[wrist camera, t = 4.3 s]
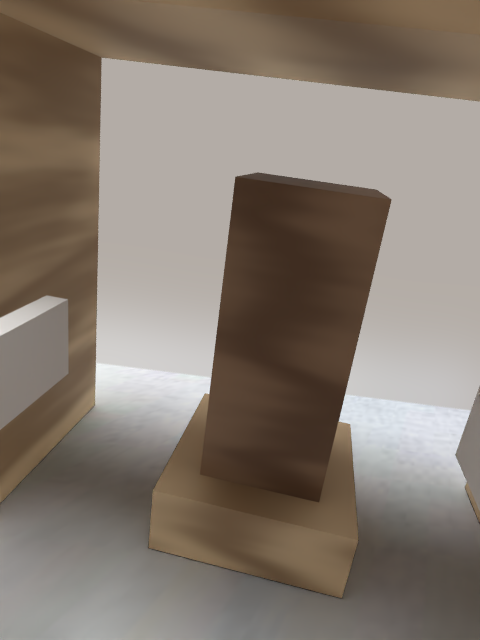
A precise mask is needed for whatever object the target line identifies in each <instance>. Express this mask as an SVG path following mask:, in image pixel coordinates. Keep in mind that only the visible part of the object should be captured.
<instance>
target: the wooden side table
mask: <svg viewBox="0 0 480 640" xmlns="http://www.w3.org/2000/svg"><path fill="white" fill-rule="evenodd" d="M101 57H102V58H111V59H119V60H127V61H136V62H145V63H154V64H162V65H170V66H180V67H188V68H197V69H205V70H213V71H223V72H231V73H239V74H248V75H256V76H265V77H274V78H282V79H292V80H299V81H308V82H317V83H326V84H334V85H342V86H352V87H361V88H368V89H377V90H386V91H394V92H402V93H411V94H421V95H428V96H437V97H446V98H455V99H463V100H472V101H480V0H0V318H1V317H3V316H5V315H7V314H9V313H11V312H13V311H15V310H17V309H19V308H22V307H24V306H26V305H28V304H30V303H32V302H34V301H36V300H38V299H40V298H42V297H44V296H46V295H48V296H53V297H58V298H64V299H68V372H69V373H68V374H67V375H66V376H65V377H64V378H62V379H61V380H60V381H59V382H58V383H56V384H55V385H54V386H53V387H52V388H50V389H49V390H48V391H47V392H46V393H44V394H43V395H42V396H41V397H39V398H38V399H37V400H36V401H35V402H33V403H32V404H31V405H30V406H29V407H27V408H26V409H25V410H24V411H23V412H21V413H20V414H19V415H18V416H17V417H15V418H14V419H13V420H12V421H10V422H9V423H8V424H7V425H6V426H4V427H3V428H2V429H1V430H0V503H1V502H2V501H3V500H4V499H5V498H6V497H7V496H8V495H9V494H10V493H11V492H12V491H13V490H14V488H15V487H16V486H17V485H18V484H19V483H20V482H21V481H22V480H23V479H24V478H25V477H26V476H27V475H28V474H29V473H30V472H31V471H32V470H33V469H34V468H35V467H36V466H37V465H38V464H39V463H40V461H41V460H42V459H43V458H44V457H45V456H46V455H47V454H48V453H49V452H50V451H51V450H52V449H53V448H54V447H55V446H56V445H57V444H58V443H59V442H60V441H61V440H62V439H63V438H64V437H65V435H66V434H67V433H68V432H69V431H70V430H71V429H72V428H73V427H74V426H75V425H76V424H77V423H78V422H79V421H80V420H81V419H82V418H83V417H84V416H85V415H86V414H87V413H88V412H89V411H90V410H91V408H92V407H93V406H94V405H95V371H96V317H97V266H98V264H97V263H98V211H99V210H98V209H99V161H100V157H99V156H100V108H101V105H100V103H101ZM208 402H209V394H204V396H203V398H202V400H201V402H200V404H199V406H198V407H197V409H196V411H195V413H194V415H193V417H192V419H191V420H190V422H189V424H188V426H187V428H186V430H185V431H184V433H183V435H182V437H181V439H180V441H179V443H178V444H177V446H176V448H175V450H174V452H173V454H172V456H171V457H170V459H169V461H168V463H167V465H166V467H165V469H164V470H163V472H162V474H161V476H160V478H159V480H158V482H157V483H156V485H155V487H154V489H153V494H152V507H151V521H150V534H149V547H148V548H151V549H155V550H158V551H162V552H166V553H170V554H174V555H178V556H181V557H185V558H189V559H193V560H197V561H201V562H204V563H208V564H212V565H216V566H220V567H223V568H227V569H231V570H235V571H239V572H243V573H246V574H250V575H254V576H258V577H262V578H266V579H269V580H273V581H277V582H281V583H285V584H289V585H292V586H296V587H300V588H304V589H308V590H311V591H315V592H319V593H323V594H327V595H331V596H334V597H338V598H342V596H343V593H344V589H345V586H346V582H347V579H348V575H349V572H350V568H351V565H352V561H353V558H354V554H355V551H356V548H357V544H358V541H359V540H358V526H357V512H356V498H355V484H354V470H353V456H352V442H351V428H350V424H347V423H342V422H338V425H337V430H336V434H335V438H334V442H333V446H332V451H331V455H330V459H329V463H328V467H327V471H326V476H325V480H324V484H323V488H322V492H321V497H320V501H319V502H314V501H310V500H306V499H302V498H297V497H293V496H289V495H285V494H280V493H276V492H272V491H268V490H263V489H259V488H255V487H251V486H246V485H242V484H238V483H234V482H229V481H225V480H221V479H217V478H213V477H208V476H204V475H200V469H201V461H202V452H203V444H204V436H205V427H206V419H207V411H208ZM465 489H466V491H467V494H468V496H469V498H470V501H471V503H472V506H473V508H474V511H475V513H476V516H477V518H478V520H479V523H480V511H479V509H478V506H477V504H476V502H475V499H474V497H473V495H472V492H471V490H470V488H469V485H468V483H466V486H465Z"/></svg>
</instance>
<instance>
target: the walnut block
mask: <svg viewBox="0 0 480 640" xmlns="http://www.w3.org/2000/svg"><path fill="white" fill-rule="evenodd" d="M390 204H391V199H390V198H388V197H387V196H385V195H384V194H382V193H381V192H379V191H378V190H375V189H368V188H361V187H353V186H347V185H339V184H333V183H326V182H319V181H312V180H305V179H298V178H292V177H285V176H278V175H270V174H264V173H254V174H248V175H243V176H237V177H235V185H234V194H233V202H232V210H231V220H230V228H229V235H228V244H227V252H226V261H225V269H224V277H223V286H222V294H221V302H220V310H219V319H218V327H217V335H216V344H215V353H214V361H213V369H212V377H211V386H210V394H209V402H208V411H207V419H206V427H205V436H204V444H203V452H202V461H201V469H200V475H204V476H208V477H213V478H217V479H221V480H225V481H229V482H234V483H238V484H242V485H246V486H251V487H255V488H259V489H263V490H268V491H272V492H276V493H280V494H285V495H289V496H293V497H297V498H302V499H306V500H310V501H314V502H319V501H320V497H321V492H322V488H323V484H324V480H325V476H326V471H327V467H328V463H329V459H330V455H331V451H332V446H333V442H334V438H335V434H336V430H337V425H338V421H339V417H340V413H341V409H342V405H343V400H344V396H345V392H346V387H347V383H348V379H349V375H350V371H351V366H352V362H353V358H354V354H355V350H356V346H357V342H358V337H359V333H360V329H361V325H362V321H363V317H364V312H365V308H366V304H367V300H368V296H369V291H370V287H371V282H372V279H373V274H374V271H375V266H376V262H377V258H378V254H379V250H380V246H381V241H382V237H383V233H384V229H385V225H386V220H387V216H388V212H389V208H390Z"/></svg>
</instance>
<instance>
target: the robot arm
mask: <svg viewBox="0 0 480 640" xmlns="http://www.w3.org/2000/svg"><path fill="white" fill-rule="evenodd" d="M68 373H69V372H68V299H64V298H58V297H53V296H48V295H46V296H44V297H42V298H40V299H38V300H36V301H34V302H32V303H30V304H28V305H26V306H24V307H22V308H19V309H17V310H15V311H13V312H11V313H9V314H7V315H5V316H3V317H1V318H0V430H1V429H2V428H3V427H4V426H6V425H7V424H8V423H9V422H10V421H12V420H13V419H14V418H15V417H17V416H18V415H19V414H20V413H21V412H23V411H24V410H25V409H26V408H27V407H29V406H30V405H31V404H32V403H33V402H35V401H36V400H37V399H38V398H39V397H41V396H42V395H43V394H44V393H46V392H47V391H48V390H49V389H50V388H52V387H53V386H54V385H55V384H56V383H58V382H59V381H60V380H61V379H62V378H64V377H65V376H66V375H67V374H68ZM455 455H456V457H457V460H458V462H459V464H460V467H461V469H462V471H463V474H464V476H465V478H466V481H467V483H468V485H469V488H470V490H471V492H472V495H473V497H474V499H475V502H476V504H477V506H478V509H479V511H480V387H479V390H478V393H477V395H476V398H475V401H474V404H473V407H472V409H471V412H470V415H469V418H468V421H467V423H466V426H465V429H464V432H463V435H462V438H461V440H460V443H459V446H458V449H457V452H456V454H455Z"/></svg>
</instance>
